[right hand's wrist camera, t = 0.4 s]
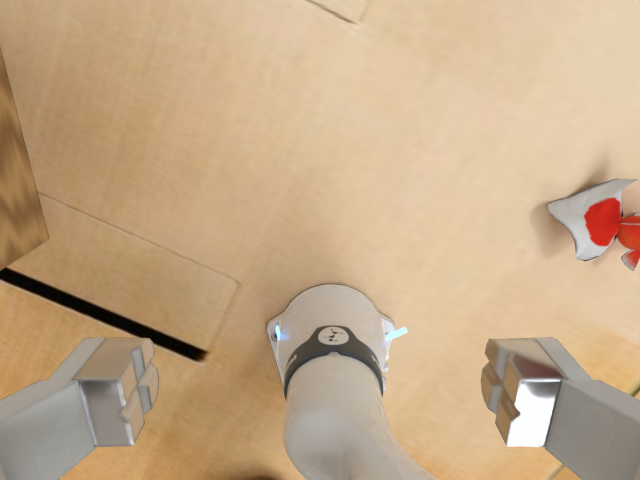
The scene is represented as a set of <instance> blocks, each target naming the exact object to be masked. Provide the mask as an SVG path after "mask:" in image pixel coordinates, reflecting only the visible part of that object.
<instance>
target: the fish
mask: <svg viewBox="0 0 640 480" xmlns="http://www.w3.org/2000/svg"><path fill="white" fill-rule="evenodd" d="M634 181H637V180H636V179H614V180H610V181H607V182H604V183H601V184H598V185H595V186H592V187H590V188H588V189H586V190H583V191H581V192H579V193H577V194H575V195H573V196H570V197H568V198H565V199H560V200H557V201H554V202H551V203H549V204H547V211H548V212H549V213H550V214H551V215H553V216H554V217H555V218H556V219H557V220H559V221H560V222H561V223H562V224H563V225H565V226H566V227H567V228H568V229H569V231H570V232H571V234H572V236H573V239H574V242H575V248H576V259H580V260H584V261H588V260H591V259H593V258H596V257H598V256H599V255H600V254H602V253H603V252H604V251H605V250H606V249H607V248H608V247H609V246H610V245H611V243H612V242H613V241H614V240H615V239H616V238H617V236H618V240H619V242H620V243H621V244H622V245H623V246H624V247H626V248H629V249H631V250H629V251H628V252H626V253H625V254H624V255H623V256H622V257H621V258H622V261H623V262H624V264H625V265H626V266H627V267H628V268H630V269H631V270H633V271H634V269H635V267H636V265H637V263H638V261H639V259H640V213H635V214H634V216H628V217H626V218H624V219H622V218H623V211H622V205H621V200H622V190H623V189H624V187H626V186H627V185H629V184H631V183H632V182H634Z"/></svg>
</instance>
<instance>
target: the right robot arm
mask: <svg viewBox="0 0 640 480" xmlns="http://www.w3.org/2000/svg"><path fill="white" fill-rule="evenodd" d="M267 332H268V335H269V339H270V342H271V346H272V349H273V352H274V356H275V359H276V363H277V366H278V370H279V373H280V377H281V380H282V383H283V387H284V394H285V399H286V410H285V421H284V431H283V441H284V446H285V449H286V452H287V454H288V456H289V458H290V460H291V461H292V463H293V465H294V466H295V467H296V469H297V470H298V471H299V472H300V474H301V475H302V476H303V477H304V478H306V479H307V480H439V479H437V478H436V477H435V476H433V475H432V474H430V473H429V472H428V471H427V470H425V469H424V468H423V467H422V466H421V465H420V464H419V463H417V462H416V461H415V460H414V459H413V458H412V457H411V456H410V455H409V454H408V453H407V452H406V450H405V449H404V448H403V447H402V446H401V444H400V443H399V442H398V440H397V439H396V438H395V436H394V434H393V432H392V430H391V428H390V425H389V422H388V419H387V415H386V412H385V408H384V404H383V400H382V396H383V392H384V391H385V387H386V378H385V377H384V376H383V375H382V373H387V372H388V363H385V362H386V360H387V359H388V358H389V349H390V345H391V342H392V339H393V338H395V337H398V336H400V335H402V334H405V333H407V330H406V327H404V328H402V329H399V330H397V331H395V324H394V322H393V321H392V320H391V319H389V318H388V317H386V316H384V315H383V314H381V313H380V312H379V311H378V310H377V309H376V308H375V306H374V305H373V303H372V302H371V301H370V300H369V299H368V298H367V297H366V296H365V295H363V294H362V293H361V292H359V291H357V290H355V289H353V288H350V287H347V286H343V285H337V284H326V285H320V286H316V287H313V288H310V289H308V290H306V291H304V292H302V293H301V294H299V295H298V296H297V297H296V298H294V299H293V301H292V302H291V303H290V304H289V306H288V307H287V308H286V310H285V311H284V312H283V313H282V314H280V315H278V316H277V317H275V318H273V319H272V320H271V321H270V322H269V323H268V325H267ZM385 333H387V335H386V334H385ZM275 334H277V336H276V335H275ZM154 354H155V351H154V346H153V342H152V341H151V340H150V339H149V338H111V337H109V338H107V337H88V338H85V339H83V340H82V341H81V342H80V343H79V344H78V345H77V347H76V348H75V349H74V350H73V351H72V352H71V353H70V355H69V356H68V357H67V358H66V359H65V360H64V361H63V363H62V364H61V365H60V366H59V367H58V368H57V369H56V370H55V372H54V373H53V374H52V375H51V376H50V377H49V378H48V380H40V381H38V382H36V383H33V384H31V385H29V386H27V387H25V388H23V389H21V390H19V391H17V392H15V393H13V394H11V395H9V396H7V397H5V398H3V399H1V400H0V480H58V479H60V478H61V477H62V476H63V475H64V474H66V473H67V472H68V471H69V470H70V469H72V468H73V467H74V466H75V465H76V464H78V463H79V462H80V461H81V460H82V459H84V458H85V457H86V456H87V455H88V454H90V453H91V452H92V451H93V450H94V449H95V447H113V446H134V444H135V442H136V440H137V438H138V436H139V434H140V432H141V430H142V428H143V426H144V424H145V421H144V416H143V415H144V414H145V413H146V412H148V411H149V410H151V409H152V407H153V405H154V403H155V401H156V398H157V393H158V389H159V375H158V369H157V368H156V367H155V366H154V365H153V364H152V363H151V362H150V361H151V360H152V358H153V356H154ZM485 354H486V356H487V358H488V360H489V361H490V362H489V363H488V364H487V365H486V366H485V367H484V368H483V369H482V376H481V388H482V394H483V398H484V401H485V403H486V405H487V407H488V409H489V410H491V411H492V412H494V413H495V414H496V415H497V416H496V421H495V424H496V426H497V428H498V430H499V432H500V434H501V436H502V438H503V440H504V442H505V444H506V446H526V447H545V449H546V450H547V451H548V452H549V453H551V454H552V455H553V456H554V457H555V458H557V459H558V460H559V461H560V462H561V463H563V464H564V465H565V466H566V467H567V468H569V469H570V470H571V471H572V472H573V473H575V474H576V475H577V476H578V477H579V478H580V479H582V480H640V400H638V399H636V398H634V397H632V396H630V395H628V394H626V393H624V392H622V391H620V390H618V389H616V388H614V387H612V386H610V385H608V384H606V383H604V382H602V381H600V380H592V378H591V377H590V376H589V375H588V374H587V373H586V372H585V370H584V369H583V368H582V367H581V366H580V365H579V364H578V363H577V361H576V360H575V359H574V358H573V357H572V356H571V355H570V353H569V352H568V351H567V350H566V349H565V348H564V347H563V346H562V344H561V343H560V342H559V341H558V340H557V339H555V338H553V337H539V338H511V339H489V341H488V343H487V345H486V350H485Z"/></svg>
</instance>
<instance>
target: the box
mask: <svg viewBox="0 0 640 480" xmlns="http://www.w3.org/2000/svg"><path fill="white" fill-rule="evenodd" d="M48 239H49V236H48V232H47V228H46V225H45V221H44V217H43V213H42V209H41V205H40V201H39V197H38V193H37V189H36V185H35V182H34V178H33V174H32V170H31V166H30V162H29V158H28V154H27V150H26V146H25V142H24V139H23V135H22V131H21V127H20V123H19V119H18V115H17V111H16V107H15V103H14V99H13V96H12V92H11V88H10V84H9V80H8V76H7V72H6V68H5V64H4V60H3V57H2V53H1V49H0V270H2V269H3V268H5V267H7V266H8V265H10V264H11V263H13V262H14V261H16V260H17V259H19V258H20V257H22V256H23V255H25V254H26V253H28V252H30V251H31V250H33V249H34V248H36V247H37V246H39V245H40V244H42V243H43V242H45V241H46V240H48Z"/></svg>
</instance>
